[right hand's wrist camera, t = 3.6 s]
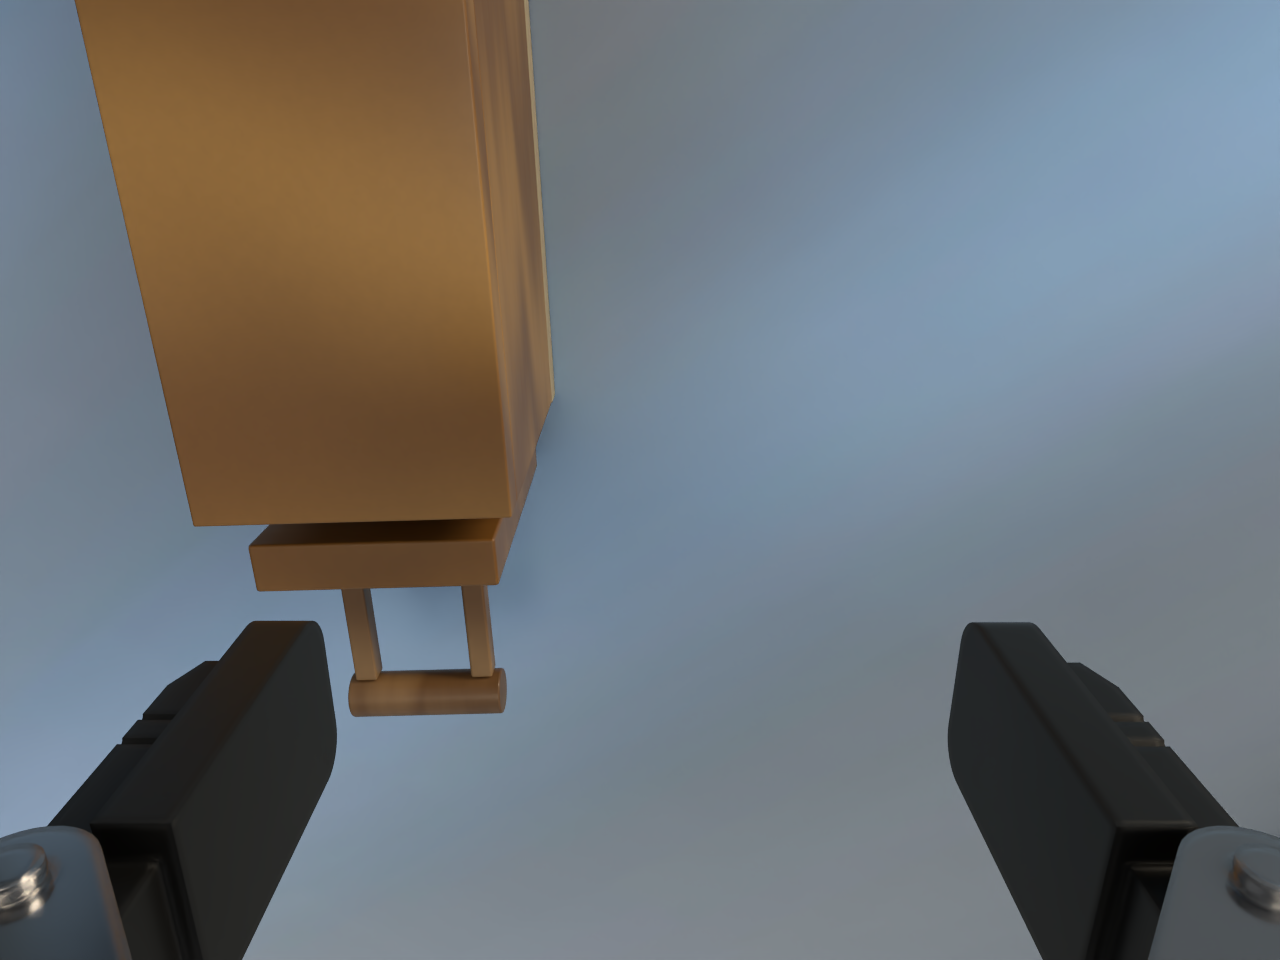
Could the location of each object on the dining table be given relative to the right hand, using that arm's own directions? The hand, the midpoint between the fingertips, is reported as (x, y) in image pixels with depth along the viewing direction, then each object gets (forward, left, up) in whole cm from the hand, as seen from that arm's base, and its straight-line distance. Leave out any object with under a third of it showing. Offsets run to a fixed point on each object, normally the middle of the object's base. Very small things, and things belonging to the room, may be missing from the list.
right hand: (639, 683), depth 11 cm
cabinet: (+9, +6, -18) cm, 21 cm away
